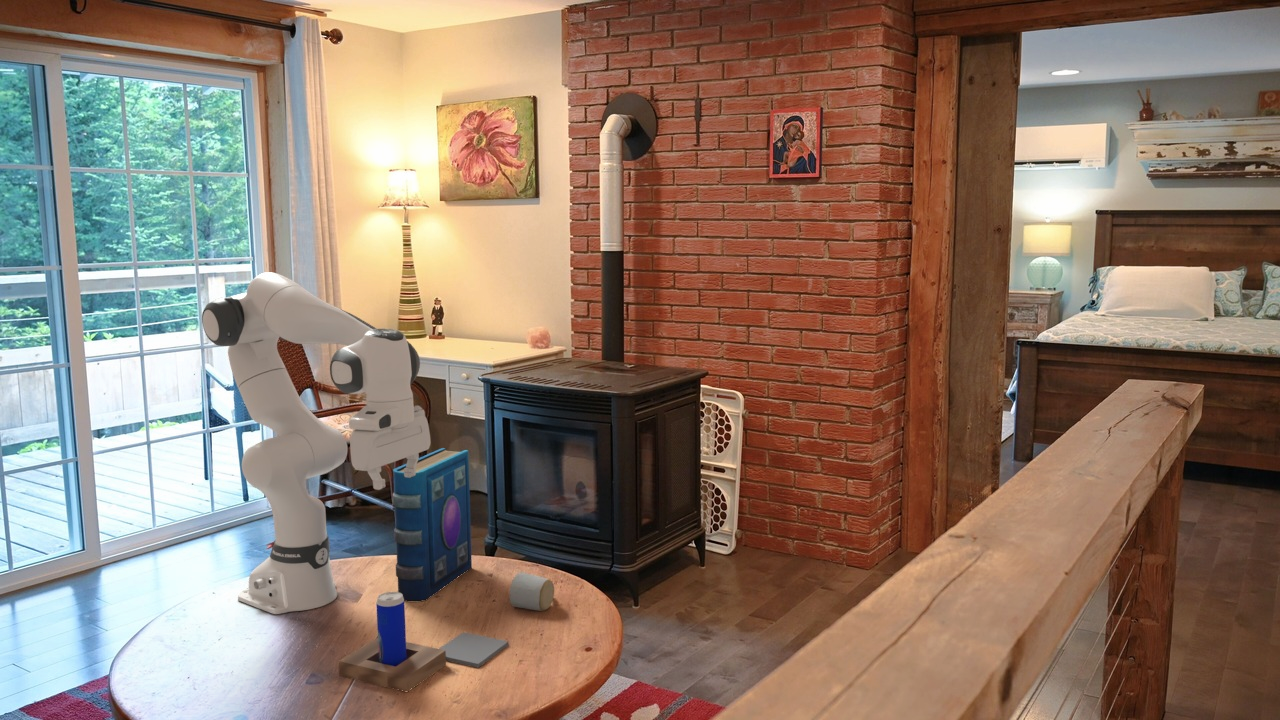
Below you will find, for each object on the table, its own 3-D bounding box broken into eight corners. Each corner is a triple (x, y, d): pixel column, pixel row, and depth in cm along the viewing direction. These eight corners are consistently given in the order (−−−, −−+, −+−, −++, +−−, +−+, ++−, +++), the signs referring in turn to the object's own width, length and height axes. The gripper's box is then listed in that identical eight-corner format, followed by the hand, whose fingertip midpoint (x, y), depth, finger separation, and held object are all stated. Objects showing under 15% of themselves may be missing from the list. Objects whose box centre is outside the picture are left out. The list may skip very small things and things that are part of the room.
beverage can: (382, 664, 187) (378, 591, 185) (408, 663, 187) (406, 590, 185) (377, 677, 182) (373, 602, 180) (404, 676, 182) (401, 601, 180)
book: (425, 605, 216) (421, 475, 211) (391, 600, 219) (386, 471, 214) (476, 569, 238) (474, 450, 234) (445, 565, 241) (442, 448, 237)
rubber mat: (431, 657, 190) (431, 653, 190) (463, 635, 200) (463, 631, 200) (478, 667, 186) (478, 663, 185) (508, 644, 195) (508, 641, 195)
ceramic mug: (542, 616, 209) (541, 583, 208) (508, 611, 212) (508, 578, 211) (562, 599, 219) (562, 567, 218) (530, 595, 222) (529, 563, 221)
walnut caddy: (339, 675, 182) (338, 660, 182) (380, 650, 193) (379, 636, 193) (407, 692, 176) (406, 677, 176) (446, 664, 187) (445, 650, 186)
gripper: (410, 403, 196) (414, 468, 198) (342, 422, 177) (347, 494, 179) (436, 404, 193) (439, 471, 195) (369, 423, 175) (374, 497, 177)
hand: (395, 482), depth 187 cm, fingers open, 8 cm apart
